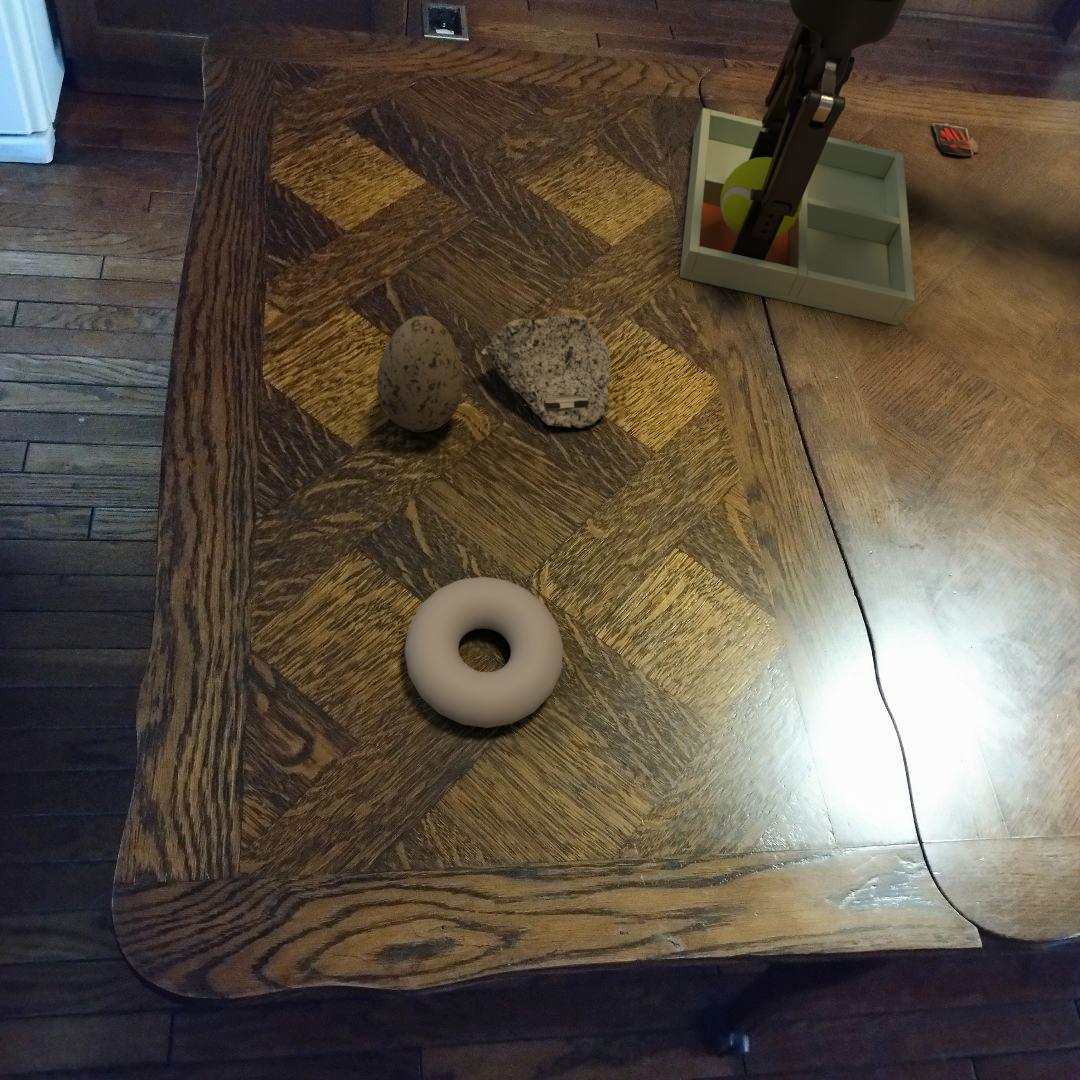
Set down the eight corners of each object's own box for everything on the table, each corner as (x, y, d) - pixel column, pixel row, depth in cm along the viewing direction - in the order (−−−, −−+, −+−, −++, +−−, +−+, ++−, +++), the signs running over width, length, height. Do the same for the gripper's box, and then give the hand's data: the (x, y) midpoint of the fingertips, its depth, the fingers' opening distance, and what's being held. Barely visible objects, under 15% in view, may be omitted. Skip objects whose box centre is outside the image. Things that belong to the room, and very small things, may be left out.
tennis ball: (800, 239, 85) (831, 175, 80) (751, 270, 82) (779, 206, 77) (744, 194, 87) (770, 129, 82) (694, 222, 84) (718, 157, 79)
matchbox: (944, 158, 98) (946, 154, 98) (923, 124, 100) (925, 120, 100) (984, 157, 99) (986, 152, 99) (962, 123, 102) (964, 119, 101)
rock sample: (549, 437, 68) (550, 307, 67) (475, 431, 74) (475, 311, 72) (644, 431, 75) (647, 314, 74) (571, 427, 81) (572, 317, 79)
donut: (429, 575, 66) (382, 709, 60) (433, 548, 63) (383, 687, 58) (573, 617, 66) (538, 755, 60) (583, 592, 63) (547, 735, 58)
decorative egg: (434, 463, 70) (443, 372, 62) (361, 428, 71) (360, 333, 62) (472, 407, 73) (486, 312, 65) (401, 374, 74) (406, 276, 66)
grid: (888, 180, 95) (903, 153, 92) (898, 326, 85) (915, 300, 82) (693, 135, 94) (702, 107, 91) (679, 277, 84) (689, 250, 81)
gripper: (808, -126, 70) (711, 147, 90) (808, 30, 60) (699, 300, 79) (909, -102, 71) (791, 165, 90) (926, 58, 60) (789, 320, 80)
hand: (748, 228), depth 85 cm, fingers closed on tennis ball, 7 cm apart
